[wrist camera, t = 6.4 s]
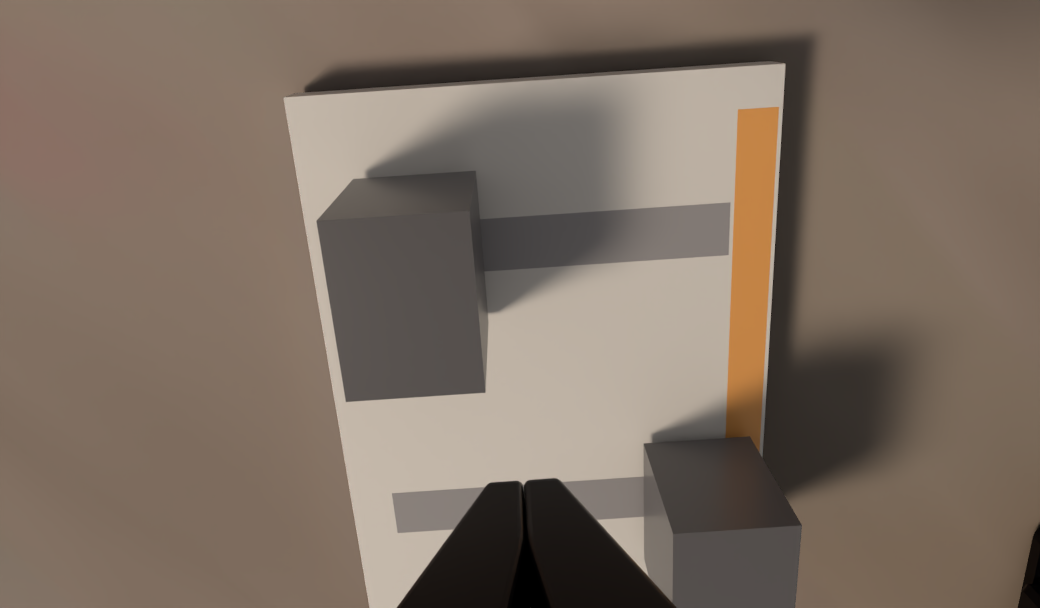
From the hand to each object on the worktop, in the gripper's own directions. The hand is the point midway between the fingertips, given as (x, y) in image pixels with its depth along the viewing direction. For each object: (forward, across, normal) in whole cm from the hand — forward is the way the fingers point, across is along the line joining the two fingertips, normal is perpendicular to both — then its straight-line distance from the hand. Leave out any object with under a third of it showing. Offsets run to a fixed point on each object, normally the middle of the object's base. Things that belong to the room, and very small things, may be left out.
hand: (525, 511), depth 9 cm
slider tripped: (+11, +2, 0) cm, 11 cm away
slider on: (+11, -5, +8) cm, 15 cm away
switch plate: (+12, -1, +4) cm, 13 cm away
